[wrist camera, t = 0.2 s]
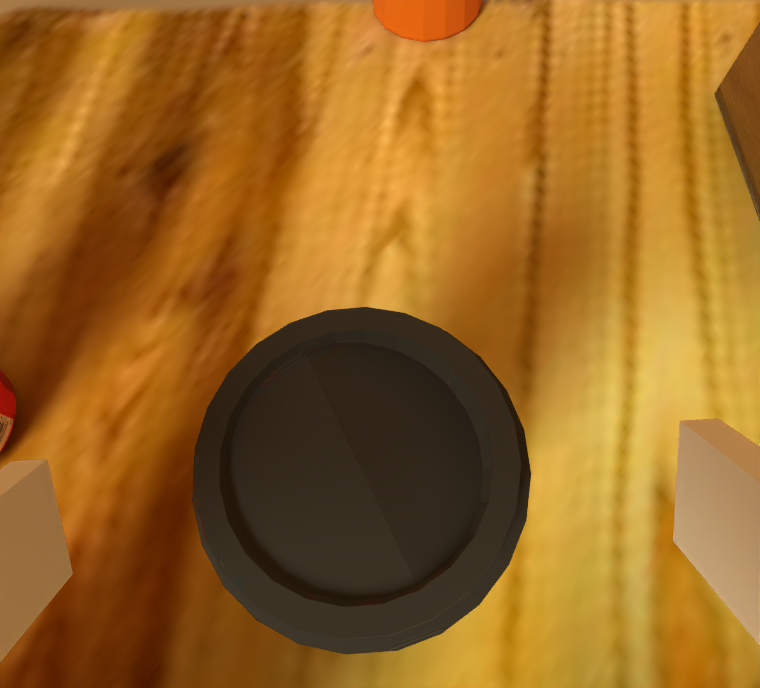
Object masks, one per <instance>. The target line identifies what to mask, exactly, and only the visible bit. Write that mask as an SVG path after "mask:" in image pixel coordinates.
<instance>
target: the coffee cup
mask: <svg viewBox="0 0 760 688" xmlns="http://www.w3.org/2000/svg"><path fill="white" fill-rule="evenodd" d="M530 479H531V470H530V464H529V458H528V452H527V446H526V439H525V433H524V429H523V426H522V424H521V422H520V420H519V417H518V415H517V413H516V410H515V408H514V406H513V404H512V401H511V399H510V397H509V395H508V392H507V390H506V389H505V387H504V386H503V385H502V384H501V382H500V381H499V380H498V379H497V377H496V376H495V375H494V374H493V372H492V371H491V370H490V369H489V367H488V366H487V365H486V364H485V362H484V361H483V360H482V359H481V357H480V356H478V355H477V354H476V353H474V352H473V351H472V350H470V349H469V348H468V347H466V346H465V345H464V344H462V343H461V342H460V341H458V340H457V339H456V338H455V337H453V336H452V335H451V334H449V333H448V332H446V331H444V330H442V329H441V328H439V327H437V326H434V325H432V324H429V323H427V322H425V321H422V320H420V319H417V318H415V317H413V316H410V315H408V314H406V313H401V312H395V311H388V310H382V309H375V308H369V307H361V308H350V309H338V310H327V311H324V312H321V313H318V314H315V315H312V316H309V317H306V318H303V319H300V320H297V321H295V322H292V323H289V324H288V325H286V326H285V327H283V328H281V329H280V330H278V331H277V332H275V333H273V334H272V335H270V336H269V337H267V338H265V339H264V340H262V341H261V342H259V343H257V344H256V345H255V346H254V347H253V348H252V349H251V350H250V351H249V352H248V353H247V354H246V355H245V356H244V357H243V358H242V359H241V360H240V361H239V362H238V363H237V364H236V366H235V367H234V368H233V369H232V370H231V371H230V372H229V373H228V374H227V376H226V378H225V379H224V381H223V383H222V384H221V386H220V388H219V389H218V391H217V393H216V394H215V396H214V398H213V399H212V401H211V403H210V404H209V406H208V408H207V411H206V414H205V417H204V421H203V424H202V427H201V431H200V434H199V437H198V440H197V444H196V447H195V456H194V475H193V499H192V501H193V506H194V510H195V515H196V519H197V524H198V528H199V533H200V537H201V542H202V546H203V548H204V549H205V551H206V553H207V555H208V557H209V559H210V561H211V563H212V565H213V566H214V568H215V570H216V572H217V574H218V576H219V578H220V580H221V582H222V583H223V585H224V587H225V588H226V589H227V590H228V591H229V592H230V593H231V594H232V595H233V596H234V597H235V598H236V599H237V600H238V601H239V602H240V603H241V604H242V605H243V606H244V607H245V608H246V610H247V611H248V612H249V613H250V614H251V615H252V616H253V617H254V618H255V619H256V620H258V621H259V622H261V623H263V624H265V625H266V626H268V627H270V628H272V629H273V630H275V631H277V632H279V633H280V634H282V635H284V636H286V637H288V638H289V639H291V640H293V641H295V642H296V643H298V644H302V645H307V646H311V647H316V648H320V649H324V650H329V651H333V652H338V653H342V654H357V653H370V652H384V651H397V650H400V649H403V648H405V647H408V646H411V645H413V644H416V643H418V642H421V641H424V640H426V639H429V638H432V637H434V636H437V635H439V634H442V633H443V632H444V631H446V630H447V629H448V628H450V627H451V626H452V625H454V624H455V623H456V622H458V621H459V620H460V619H461V618H463V617H464V616H465V615H467V614H468V613H469V612H471V611H472V610H473V609H475V608H476V607H477V606H479V604H480V603H481V602H482V600H483V599H484V598H485V596H486V595H487V594H488V592H489V591H490V590H491V588H492V587H493V586H494V584H495V583H496V582H497V580H498V579H499V578H500V576H501V575H502V574H503V572H504V571H505V570H506V568H507V566H508V565H509V563H510V561H511V558H512V555H513V553H514V550H515V548H516V545H517V543H518V540H519V537H520V535H521V532H522V530H523V527H524V525H525V522H526V518H527V508H528V498H529V489H530Z"/></svg>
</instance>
